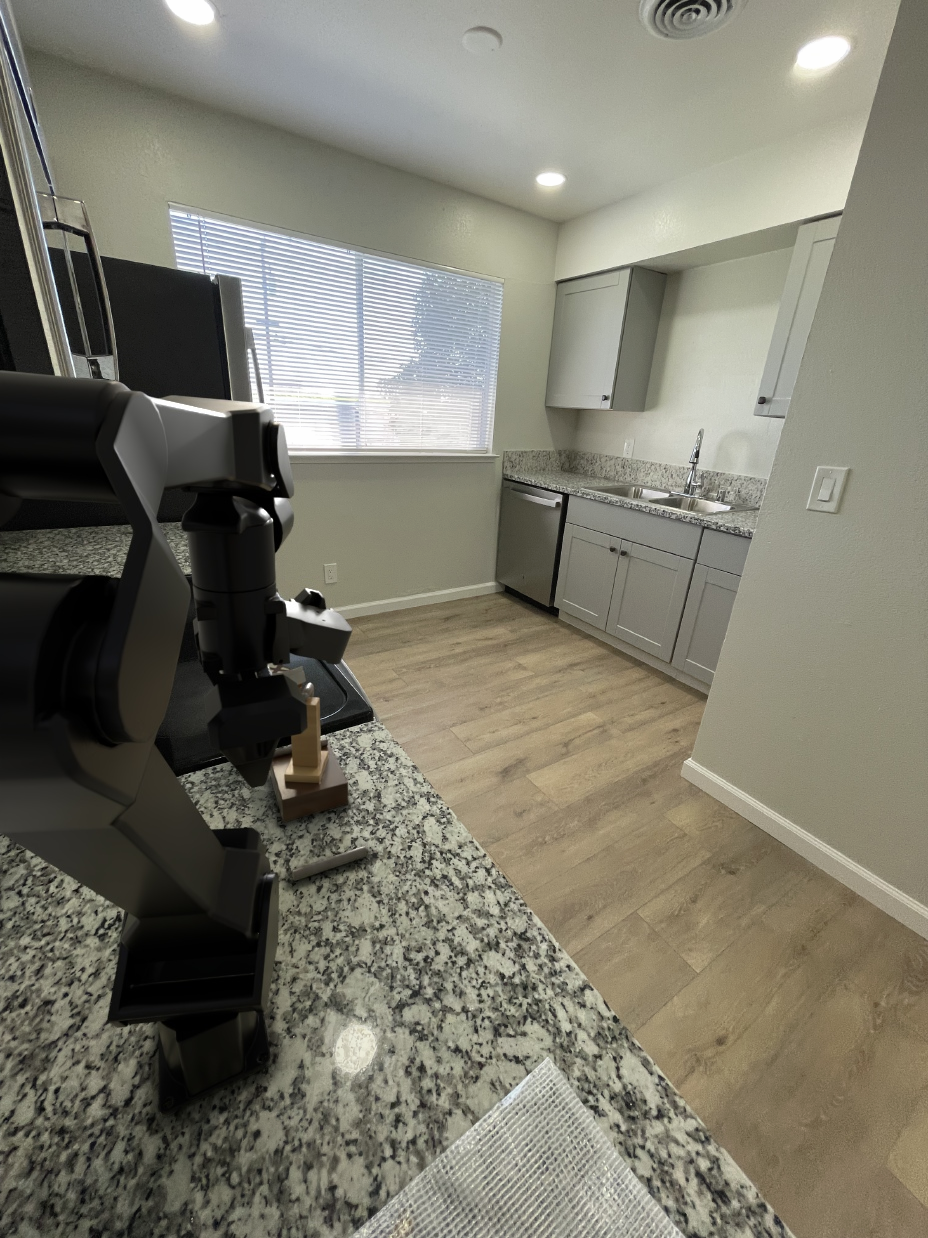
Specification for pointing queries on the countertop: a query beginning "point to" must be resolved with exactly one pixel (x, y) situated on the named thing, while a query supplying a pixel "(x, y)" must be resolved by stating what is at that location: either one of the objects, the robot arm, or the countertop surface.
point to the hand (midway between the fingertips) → (250, 752)
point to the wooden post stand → (308, 745)
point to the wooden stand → (312, 802)
